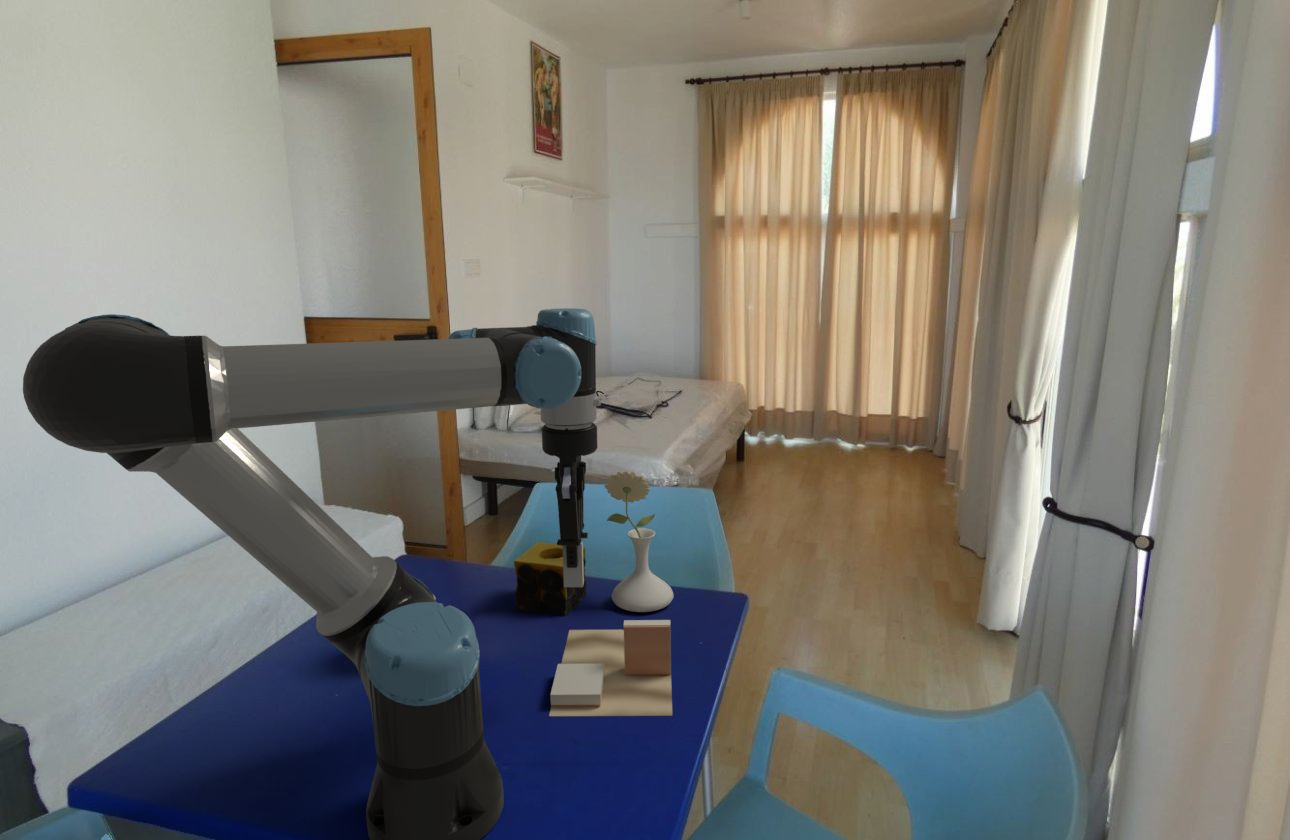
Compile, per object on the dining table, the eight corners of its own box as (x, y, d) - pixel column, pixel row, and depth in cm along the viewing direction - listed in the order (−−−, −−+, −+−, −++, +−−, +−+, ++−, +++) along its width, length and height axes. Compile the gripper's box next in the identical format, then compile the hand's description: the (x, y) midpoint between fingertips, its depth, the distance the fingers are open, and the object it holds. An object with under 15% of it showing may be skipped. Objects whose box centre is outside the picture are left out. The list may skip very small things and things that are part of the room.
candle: (514, 613, 132) (511, 561, 130) (538, 589, 142) (535, 540, 139) (567, 620, 129) (564, 567, 127) (587, 595, 139) (586, 545, 136)
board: (672, 719, 101) (672, 715, 101) (549, 720, 101) (549, 716, 101) (669, 632, 124) (669, 629, 124) (569, 633, 124) (569, 629, 124)
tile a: (604, 675, 111) (600, 707, 103) (558, 675, 111) (551, 707, 103) (604, 663, 110) (600, 694, 102) (557, 663, 110) (550, 694, 102)
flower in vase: (683, 597, 137) (683, 468, 132) (656, 624, 127) (654, 486, 122) (623, 584, 143) (620, 460, 138) (592, 608, 133) (587, 476, 128)
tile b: (671, 675, 110) (670, 626, 109) (624, 675, 110) (623, 626, 109) (670, 667, 112) (670, 619, 111) (625, 668, 112) (624, 620, 111)
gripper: (592, 434, 93) (596, 605, 98) (600, 413, 106) (603, 566, 111) (533, 434, 93) (540, 605, 98) (548, 413, 106) (553, 566, 111)
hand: (573, 584), depth 105 cm, fingers closed
